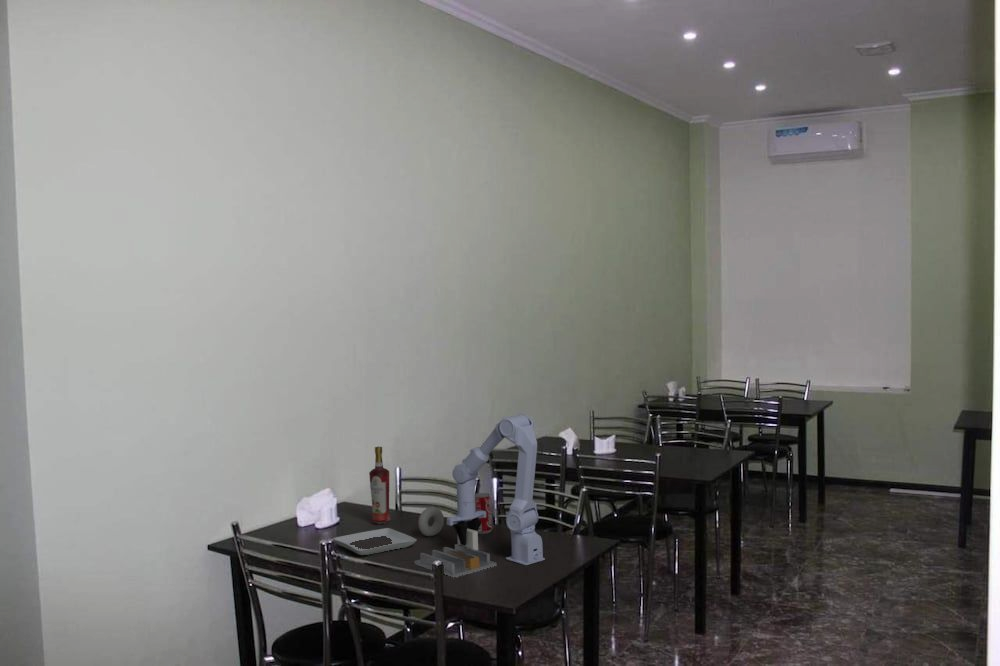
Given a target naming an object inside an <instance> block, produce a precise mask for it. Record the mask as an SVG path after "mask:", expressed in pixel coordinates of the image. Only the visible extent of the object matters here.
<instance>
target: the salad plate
mask: <svg viewBox="0 0 1000 666" xmlns="http://www.w3.org/2000/svg"><path fill="white" fill-rule="evenodd" d="M381 536H386V537H387V538H390V539H391V540H392V541H391V542H392V544H388V545H383V546H379V547H374V548H370V549H362V548H361V549H360V548H359V549H358V547H355V545H350V543H352V542H355V541H359V540H365V539H369V538H373V537H381ZM332 540H333V542H334V543H336V544H337V545H339V546H340V547H343V548H345V549H347V550H349V551H351V552H353V553H355V554H357V555H359V556H363V555H368V556H370V555H369V554H373V553H379V552H384V551H388V552H390V551H389V550H393V551H395V550H394V549H398V550H401V549H400V548H402V549H406V548H409V547H410V546H413V544H415V543H416V542H417V538H415V537H413V536H410V535H408V534H406V533H403V532H400V531H398V530H395V529H393V528H389V527H385V528H380V529H372V530H367V531H362V532H356V533H352V534H347V535H341V536H336V537H333V538H332ZM384 553H385V552H384ZM379 554H380V553H379Z"/></svg>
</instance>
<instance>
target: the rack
mask: <svg viewBox="0 0 1000 666" xmlns="http://www.w3.org/2000/svg"><path fill="white" fill-rule="evenodd" d="M419 558H420V559H417V560H414V561H413V563H414V565H415V566H419V567H421V568H424V569H427V570H429V569H430V570H429V571H432V563H433V562H434V561H435V560H440V561H442V562H443V565H444V574H445V575H444V576H446V575H448V576H447V577H449V576H451V577H450V578H452V577H453V578H452V579H455V578H454V577H456V578H459V576H460V577H463V576H466V574H467V575H470V574H473V572H474V573H477V572H480V570H481V571H484V570H487V568H488V569H490V567H491V568H495V567H497V562H496V561H492V560H491V559H490V558H491V557H490V553H489V552H485V551H482V550H479V549H478V550H476V549H472V548H469V547H466V546H462V545H459V544H458V543H456V544H454V548H451V547H447V546H444V547H443V551H440V550H436V549H433V550H431V555H430V554H428V553H425V552H420V553H419ZM494 566H495V567H494ZM483 569H484V570H483ZM462 575H463V576H462Z"/></svg>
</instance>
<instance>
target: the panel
mask: <svg viewBox="0 0 1000 666" xmlns="http://www.w3.org/2000/svg"><path fill="white" fill-rule="evenodd" d="M478 535H479V534H478V531H475V530H471V529H468V527H467V533H466V545H465V546H466V547H469V548H472V549H476V550H479V537H478ZM456 536H457V544H459V545H461V544H460V540H459V537H458V534H457V533H456ZM462 546H464V545H462Z"/></svg>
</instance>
